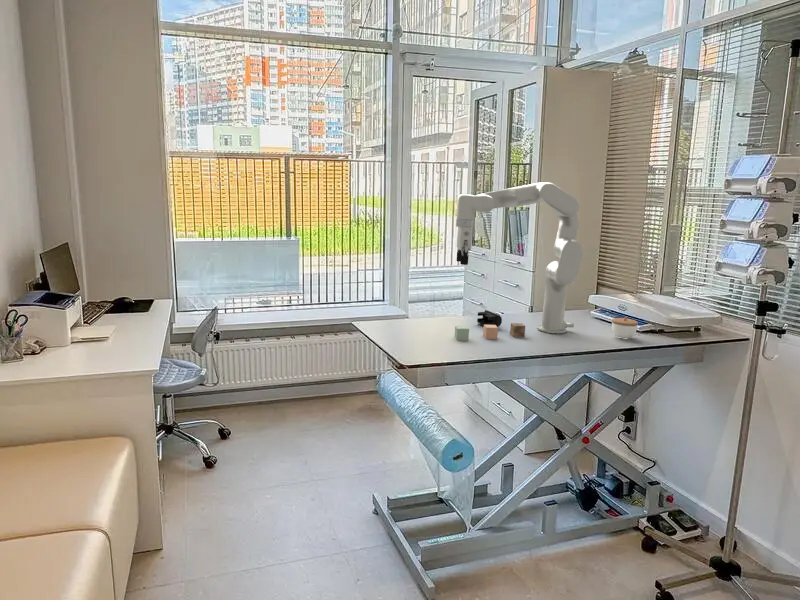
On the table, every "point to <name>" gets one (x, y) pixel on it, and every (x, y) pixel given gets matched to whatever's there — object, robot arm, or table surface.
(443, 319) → the table surface
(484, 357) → the table surface
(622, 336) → the lidded jar
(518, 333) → the walnut block
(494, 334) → the terracotta block
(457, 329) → the sage block
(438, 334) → the table surface
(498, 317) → the black claw piece
